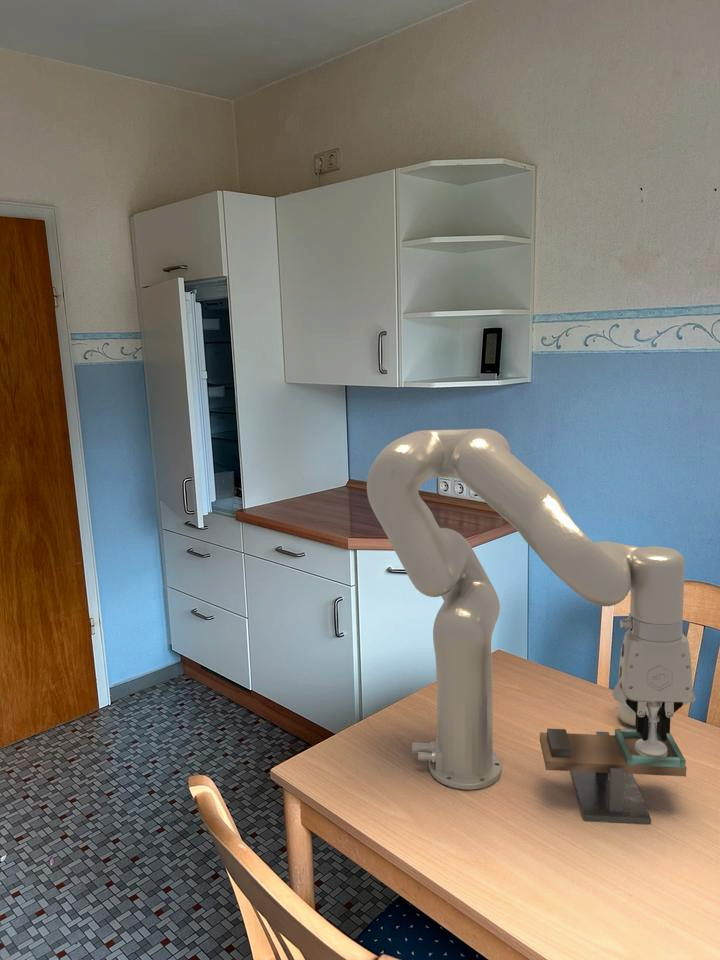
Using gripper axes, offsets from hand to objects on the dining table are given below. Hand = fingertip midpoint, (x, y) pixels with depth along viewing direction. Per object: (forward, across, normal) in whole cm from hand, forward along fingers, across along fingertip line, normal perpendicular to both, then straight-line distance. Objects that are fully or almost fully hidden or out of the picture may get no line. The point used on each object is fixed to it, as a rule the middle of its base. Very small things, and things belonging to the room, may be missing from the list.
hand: (652, 735), depth 114 cm
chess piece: (+3, 0, 0) cm, 3 cm away
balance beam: (+4, -6, 0) cm, 8 cm away
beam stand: (+11, -7, 0) cm, 13 cm away
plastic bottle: (+11, +3, +24) cm, 27 cm away
